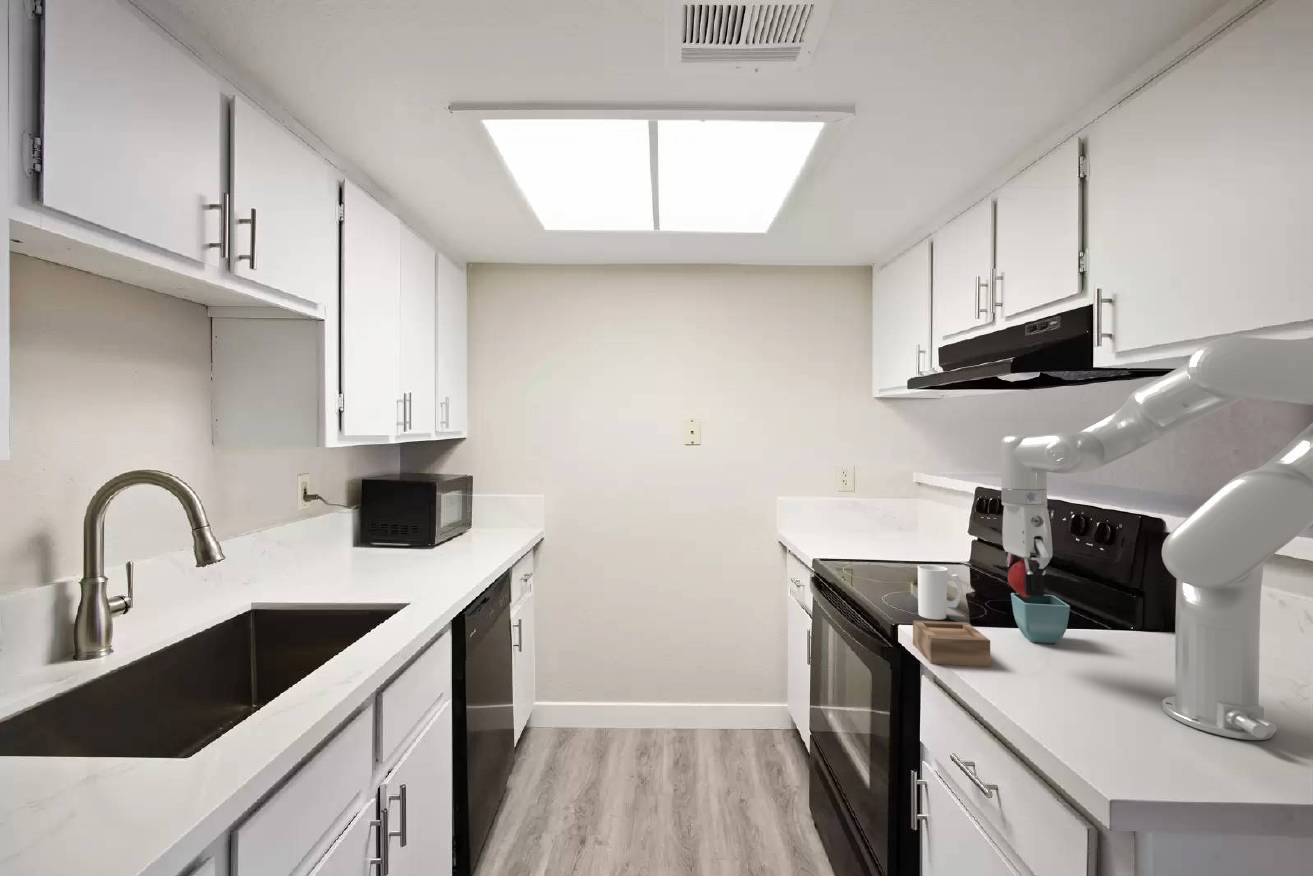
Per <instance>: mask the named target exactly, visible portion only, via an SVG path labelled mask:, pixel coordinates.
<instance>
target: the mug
mask: <svg viewBox="0 0 1313 876" xmlns="http://www.w3.org/2000/svg"><path fill="white" fill-rule="evenodd" d="M949 581H952V582H954V583H955V585H956V586H957V594H956V596H955V598H954V599H953V600H948V595H947V594H948V582H949ZM963 588H964V587H963V585H962V583H961V580H960V578H959V575H958V574H951V575H949V574H948V568H947V567H945V566H941V565H937V564H936V565H935V564H921V565H920V564H919V565H917V606H918V607H917V609H918V610H917V611H918V612H917V614H918V616H920V617H922V618H924V619H929V620H933V621H939V620H945V619H947V609H948V608H954V609H955V608H957V607H958V605H959V603H960V601H961V599H962V596H963V592H964V589H963Z"/></svg>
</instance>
